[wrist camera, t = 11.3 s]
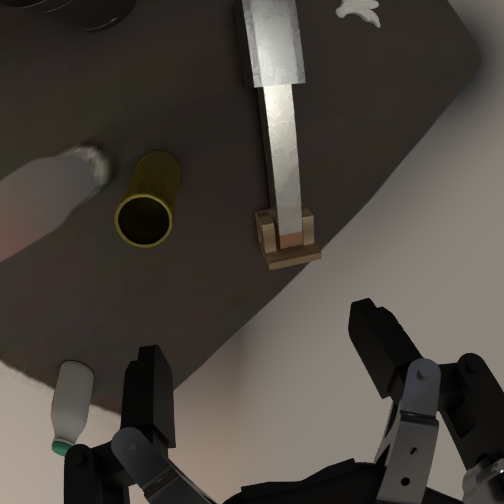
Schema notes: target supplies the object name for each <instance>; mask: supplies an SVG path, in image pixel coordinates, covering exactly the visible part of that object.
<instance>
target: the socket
mask: <svg viewBox="0 0 504 504" xmlns="http://www.w3.org/2000/svg"><path fill="white" fill-rule="evenodd" d="M301 213H302V233H303V245H298V246H293V247H288V248H283V249H281V248H280V246H279V244H278V242H277V240H276V238H275V230H274V223H273V221H272V215H271V208H267V209H262V210H257V211H255V217H256V225H257V232H258V239H259V244H260V247H261V249H262V252H263V254H264V257H265V259H266V262H267V264H268V267H269V269H270V270H273V269H278V268H282V267H287V266H291V265H296V264H301V263H305V262H310V261H314V260H318V259H321V251H320V250H319V248H318V247H317V245H316V244H315V243H314V220H313V215H312V213H311V212H310V211H309V210H308V208H307V207H306V205H305V204H304V203H303V202H301Z"/></svg>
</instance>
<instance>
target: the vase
mask: <svg viewBox="0 0 504 504" xmlns="http://www.w3.org/2000/svg"><path fill="white" fill-rule="evenodd" d="M181 179H182V168H181V165H180V163H179V161H178V160H177V159H176V158H175V156H173V155H172V154H170V153H168V152H165V151H152V152H150V153H148V154H146V155H145V156H143V157H142V158H141V159H140V160H139V162H138V164H137V166H136V169H135V172H134V174H133V176H132V178H131V180H130V182H129V184H128V186H127V189H126V191H125V193H124V195H123V197H122V199H121V200H120V203H119V205H118V208H117V210H116V214H115V225H116V229H117V231H118V233H119V234H120V236H121V237H122V238H123V239H124V240H125V241H126V242H127V243H129V244H131V245H133V246H136V247H143V248H148V247H153V246H156V245H158V244H159V243H161V242H162V241H163V240H165V239H166V238H167V236H168V235H169V233H170V231H171V229H172V227H173V223H174V212H175V202H176V196H177V190H178V187H179V184H180V182H181Z"/></svg>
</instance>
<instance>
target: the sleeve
mask: <svg viewBox="0 0 504 504" xmlns="http://www.w3.org/2000/svg"><path fill="white" fill-rule="evenodd" d="M233 14H234V20H235V27H236V34H237V41H238V47H239V54H240V61H241V68H242V75H243V83H244V86H246V87H263V86H273V85H284V84H297V83H306V82H305V73H304V64H303V55H302V47H301V39H300V31H299V24H298V17H297V10H296V3H295V0H236V1H235V3H234V5H233Z"/></svg>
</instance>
